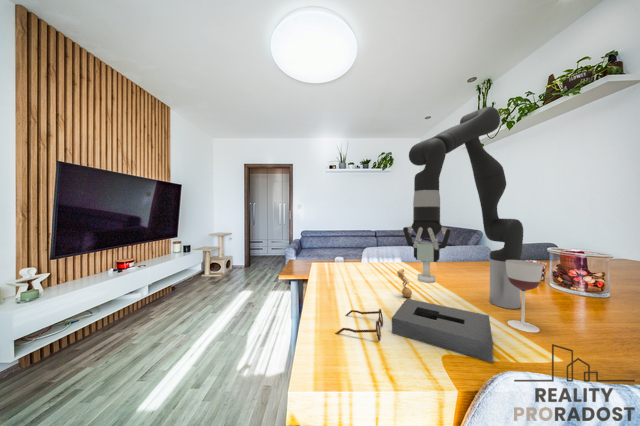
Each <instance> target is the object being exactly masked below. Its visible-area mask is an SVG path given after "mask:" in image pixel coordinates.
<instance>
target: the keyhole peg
mask: <svg viewBox="0 0 640 426" xmlns="http://www.w3.org/2000/svg"><path fill="white" fill-rule="evenodd" d="M416 261H421V262H422V273H417V281H418V282H420V283H426V284H433V283H436V276H435V275H434V274H431V263H435V262H434V245H433V243H432V242H423V241H422V242H421V241H420V243H418V244H417V260H416Z"/></svg>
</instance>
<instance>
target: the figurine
mask: <svg viewBox="0 0 640 426" xmlns="http://www.w3.org/2000/svg"><path fill="white" fill-rule="evenodd" d="M404 272H405V269H404V268H402V269H399V270H397V272H396V273H397V276H398V278H400V279H401V281H402V286H403V288H402V289H401V294H402V296H403V297H405V298H410V297H411V296H412V295H413V292H412V290H411V288H410V287H407V286H406V285H408V284H410V281H409V280H408V279H407V277H406V276H405V273H404Z"/></svg>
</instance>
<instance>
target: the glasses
mask: <svg viewBox="0 0 640 426" xmlns="http://www.w3.org/2000/svg"><path fill="white" fill-rule="evenodd" d="M352 313H356V314H357V313H358V314H360V315H374V314H377V315H378V319H377V320H376V321H375V329H352V328H348V327H342V328H340V329H339V330H338V331H336V332H335V333H334V335H339V334H340V333H343V331H347V332H352V333H354V334H355V333H356V334H358V333H376V336H377V340H379V341H380V340H381V338H382V333H381V332H382V331H381V326H383V325H384V319H383V312H382V309H381V308H379V309H378V310H377V311H376V310H375V311H374V310H373V311H360V310H353V309H351V310H350V311H349V312H347V313H346V314H345V315H344V316H345V317H348V316H350V315H351V314H352Z"/></svg>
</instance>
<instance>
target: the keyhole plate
mask: <svg viewBox="0 0 640 426" xmlns="http://www.w3.org/2000/svg"><path fill="white" fill-rule="evenodd" d="M490 320H491V319H490V315H489V314H484V313H478V312H474V311H469V310H465V309H460V308H454V307H450V306H445V305H440V304H436V303H431V302H426V301H422V300H421V301H420V300H417V299H411V298H406V299H405V300H404V301H403V303H401V305H400V306H399V308H398V309H397V310H396V312H395V313H394V314H393V315H392V316H391V333H393V334H395V335H399V336H401V337H405V338H409V339H411V340H415V341H418V342H420V343H421V342H422V343H425V344H428V345H432V346H435V347H438V348H441V349H445V350H448V351H452V352H455V353H458V354H461V355H465V356H468V357H471V358H473V359H478V360H481V361H485V362H488V363H491V364H493V363H494V362H493V359H494V353H493V352H494V344H493V337H492V328H491V322H490Z"/></svg>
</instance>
